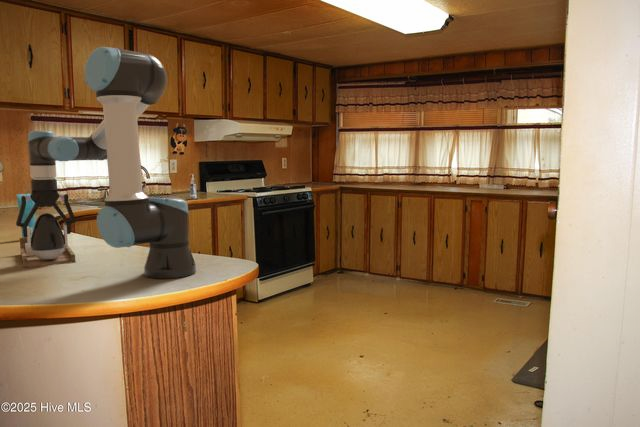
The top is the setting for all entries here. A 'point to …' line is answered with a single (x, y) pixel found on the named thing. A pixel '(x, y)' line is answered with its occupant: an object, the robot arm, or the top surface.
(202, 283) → the top surface
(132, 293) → the top surface
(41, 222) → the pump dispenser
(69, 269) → the top surface
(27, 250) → the pusher
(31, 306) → the top surface
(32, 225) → the tube
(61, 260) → the brown wooden tray
